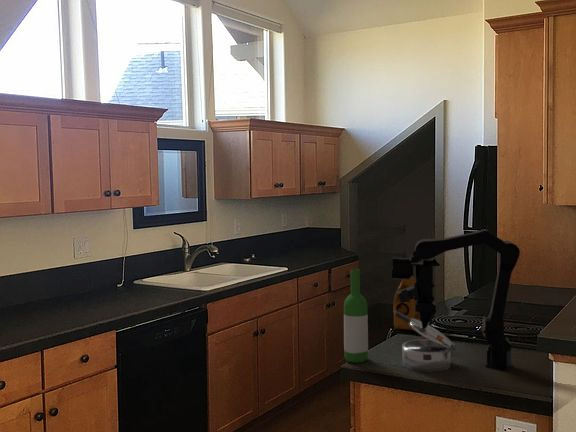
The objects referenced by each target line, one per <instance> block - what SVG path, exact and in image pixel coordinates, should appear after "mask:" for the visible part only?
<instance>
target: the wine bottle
mask: <svg viewBox="0 0 576 432" xmlns="http://www.w3.org/2000/svg"><path fill="white" fill-rule="evenodd" d="M360 273H361V271H360V269H359V268H353V269H350V294H348V296H347V297H346V298H345V300H344V302H343V347H344V348H343V349H344V350H343V351H344V353H343V356H344V359H345V360H346V362H348V363H353V364H359V363H364V362H367V360H368V359H369V329H368V328H369V323H368V322H369V321H368V319H369V318H368V316H369V315H368V310H369V309H368V302H367V300H366V298H365V297H364V296H363V295H362V294H361V274H360Z"/></svg>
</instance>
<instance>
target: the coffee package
mask: <svg viewBox="0 0 576 432" xmlns="http://www.w3.org/2000/svg"><path fill="white" fill-rule="evenodd" d="M414 282H415V277H414V275H413V276H411V277H410V279H401V282H400V284H399V285H398V288H397V290H396V292H395V294H394V299H393V326H394V328H395V329H396V330H397V329H398V330H399V329H401V330H407V331H414V330H413V329H412V328H411V327H410V326H409V324H408V323H407V322H405V321H403V320H402V319H400V318H398V317H396V316H395V312H396V311H398V312H400V313H402V314H403V315H405V316H407V317H409V318H410V319H411V318H413V319H417V320H419V321H420V313H419V312H415V303H416V302H417V300H416V301H414V298H413V299H411V300H408V301H405V302H404V303H400V300H399V297H398V295H397V292H398V291H400V290H402V289H405V288H408V287H412V286H414Z"/></svg>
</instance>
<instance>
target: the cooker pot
mask: <svg viewBox="0 0 576 432" xmlns="http://www.w3.org/2000/svg"><path fill="white" fill-rule="evenodd" d="M401 351H402V352H401V353H402V354H401V356H402V357H401V358H402V359H401V361H402V364H403V365H402V366H403V367H404V366H405V367H404V368H406V367H407V369H408V368H409V369H408V370H411V371H414V370H415V372H420V371H423V372H422V373H437V371H439V372H443V371H446V369H447V370H448V369H450V368H451V347H450V348H444V347H441V346H439V345H437V344H435V343H433V342H431V341H429V340H427V339H422V338H421V339H412V340H408V341H407V340H406V341H405V342H402V344H401ZM416 370H417V371H416ZM433 371H435V372H433Z"/></svg>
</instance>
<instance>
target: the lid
mask: <svg viewBox="0 0 576 432" xmlns="http://www.w3.org/2000/svg"><path fill="white" fill-rule="evenodd" d="M395 316H396V317H398V318H400V319H402V320H403V321H405V322H407V323H408V324H409V326H410V327H411V328H412V329H413V330H412V331H414V332H416V333H417V334H418V335H420V336H421V337H422V336H423V337H424V338H426V339H427V340H429V341H431V342H433V343H435V344H437V345H439V346H441V347H444V348H450V349H451V350H452V351H455V350H456V349H457V348H456V345H455V342H454V341H451V339H449V338H448V337H447V336H446V335H445V334H443V333H442V332H440V331H439V330H437V329H436V328H434V327H433V326H432V325H429V324H428V325H427V327H426V328H423V327H422V322H421V320H420V319H419V320H417V319H413V318H411V319H410V318H409V317H407V316H405V315H403V314H402V313H400V312H398V311H396V312H395Z"/></svg>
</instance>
